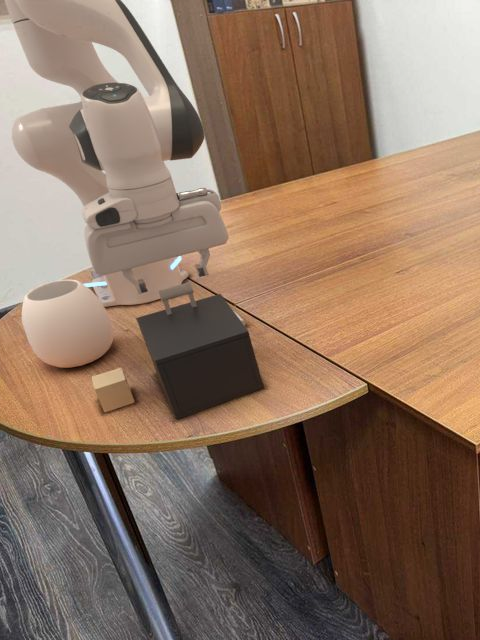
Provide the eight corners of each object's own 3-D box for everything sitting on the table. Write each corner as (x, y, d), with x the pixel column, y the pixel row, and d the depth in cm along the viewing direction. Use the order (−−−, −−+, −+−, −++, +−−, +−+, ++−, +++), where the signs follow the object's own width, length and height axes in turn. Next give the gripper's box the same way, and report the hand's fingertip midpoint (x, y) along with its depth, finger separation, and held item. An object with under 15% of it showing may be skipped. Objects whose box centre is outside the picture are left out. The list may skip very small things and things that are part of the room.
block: (101, 399, 106) (91, 376, 104) (130, 389, 108) (121, 367, 106) (104, 412, 103) (94, 389, 100) (135, 402, 105) (125, 379, 102)
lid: (137, 322, 107) (127, 294, 104) (221, 297, 113) (213, 270, 110) (156, 365, 95) (145, 335, 92) (249, 335, 101) (241, 306, 98)
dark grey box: (157, 374, 111) (138, 324, 106) (237, 348, 117) (222, 299, 112) (176, 419, 100) (156, 365, 95) (264, 388, 106) (249, 335, 101)
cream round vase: (30, 360, 118) (-3, 294, 111) (103, 331, 126) (77, 267, 119) (57, 385, 111) (24, 315, 104) (133, 351, 119) (107, 285, 112)
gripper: (210, 180, 105) (232, 260, 112) (70, 210, 96) (103, 294, 103) (220, 189, 100) (242, 271, 107) (74, 221, 91) (108, 308, 98)
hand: (173, 283), depth 105 cm, fingers open, 8 cm apart
